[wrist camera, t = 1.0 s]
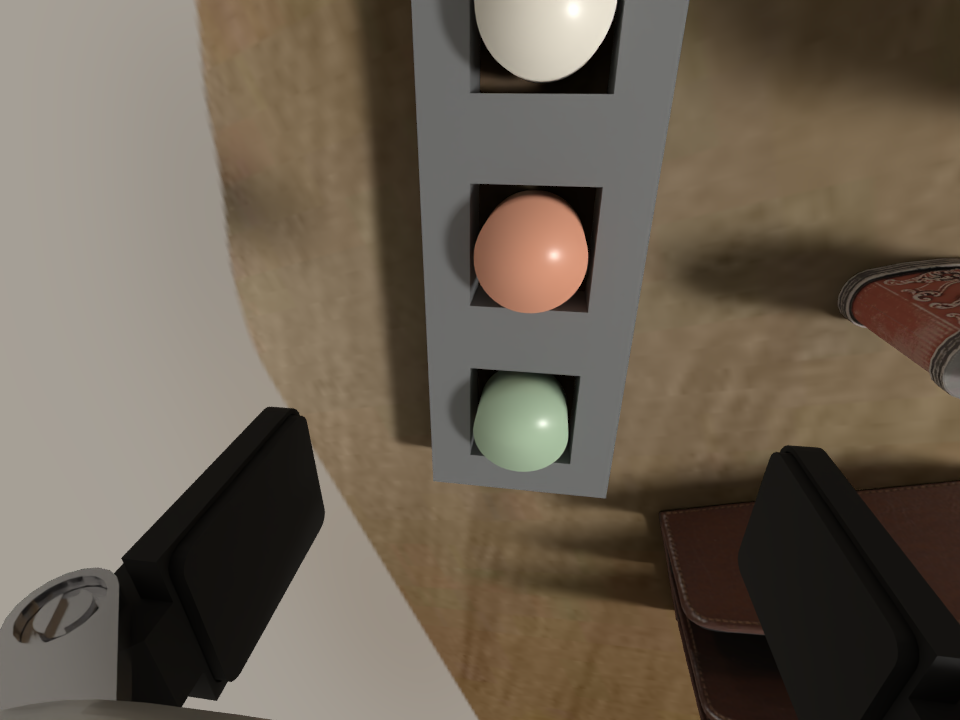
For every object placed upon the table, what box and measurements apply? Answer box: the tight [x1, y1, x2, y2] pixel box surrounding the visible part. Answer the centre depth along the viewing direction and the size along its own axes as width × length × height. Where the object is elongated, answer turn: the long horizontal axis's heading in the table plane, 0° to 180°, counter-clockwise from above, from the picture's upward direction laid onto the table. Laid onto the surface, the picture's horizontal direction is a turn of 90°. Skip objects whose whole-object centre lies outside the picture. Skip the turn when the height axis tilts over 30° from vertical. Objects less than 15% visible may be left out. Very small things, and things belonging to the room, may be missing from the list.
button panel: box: [411, 0, 689, 498], centre depth 23 cm, size 28×10×3 cm, turn 179°
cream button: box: [474, 0, 617, 83], centre depth 18 cm, size 5×5×3 cm
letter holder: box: [659, 481, 960, 720], centre depth 25 cm, size 10×20×14 cm, turn 106°
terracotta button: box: [474, 190, 588, 313], centre depth 22 cm, size 5×5×3 cm
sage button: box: [473, 370, 568, 472], centre depth 26 cm, size 5×5×3 cm
